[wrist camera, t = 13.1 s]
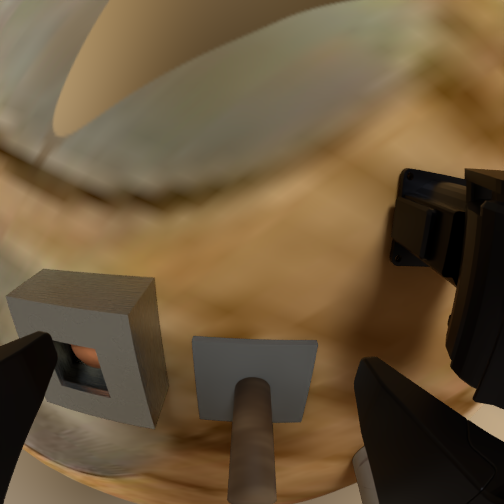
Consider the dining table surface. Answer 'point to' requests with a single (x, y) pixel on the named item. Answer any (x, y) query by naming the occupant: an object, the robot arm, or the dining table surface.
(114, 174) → the dining table surface
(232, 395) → the pad
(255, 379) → the brown cylinder rod
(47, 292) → the plate
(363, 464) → the thermos bottle
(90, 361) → the orange rounded dome
